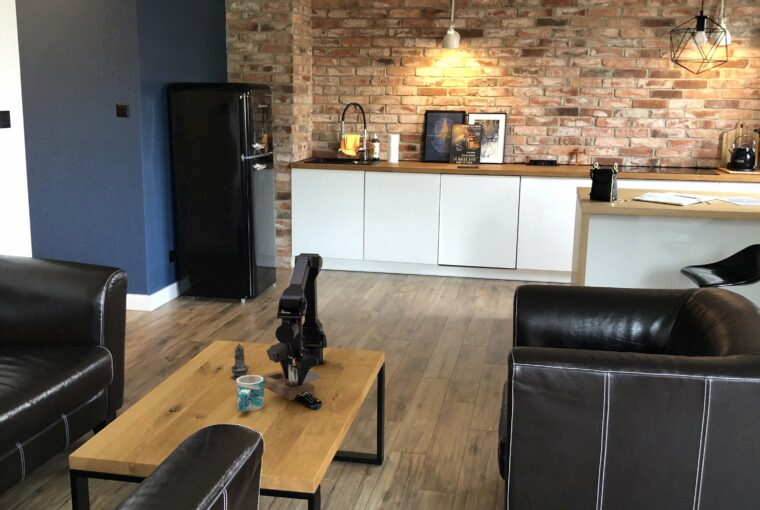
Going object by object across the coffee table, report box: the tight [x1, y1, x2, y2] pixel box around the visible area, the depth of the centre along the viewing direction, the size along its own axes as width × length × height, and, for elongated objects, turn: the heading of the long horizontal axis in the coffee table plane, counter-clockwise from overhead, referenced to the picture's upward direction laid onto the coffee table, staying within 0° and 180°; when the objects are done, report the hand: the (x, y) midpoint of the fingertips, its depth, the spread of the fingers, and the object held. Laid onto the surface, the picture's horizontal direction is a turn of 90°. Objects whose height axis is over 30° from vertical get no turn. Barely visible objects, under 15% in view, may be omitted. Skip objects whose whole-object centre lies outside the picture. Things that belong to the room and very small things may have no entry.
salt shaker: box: [230, 342, 250, 381], centre depth 264 cm, size 6×6×12 cm
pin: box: [289, 362, 298, 388], centre depth 251 cm, size 3×3×10 cm
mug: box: [236, 374, 265, 412], centre depth 240 cm, size 8×12×8 cm
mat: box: [304, 370, 323, 383], centre depth 267 cm, size 10×10×1 cm
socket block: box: [258, 369, 315, 401], centre depth 255 cm, size 18×9×3 cm, turn 40°
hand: (293, 381), depth 252 cm, fingers open, 7 cm apart
